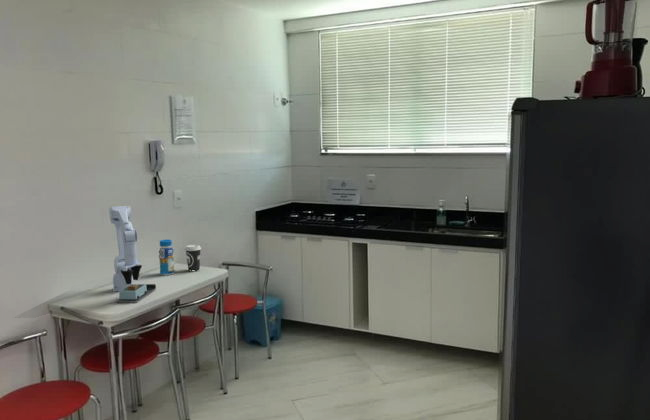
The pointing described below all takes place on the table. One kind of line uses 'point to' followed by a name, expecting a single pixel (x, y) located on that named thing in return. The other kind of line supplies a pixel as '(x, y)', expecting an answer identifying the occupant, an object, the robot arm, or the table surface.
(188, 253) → the coffee cup
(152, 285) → the rail
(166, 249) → the beverage bottle
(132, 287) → the walnut block
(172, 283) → the table surface
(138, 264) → the robot arm
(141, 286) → the cart
